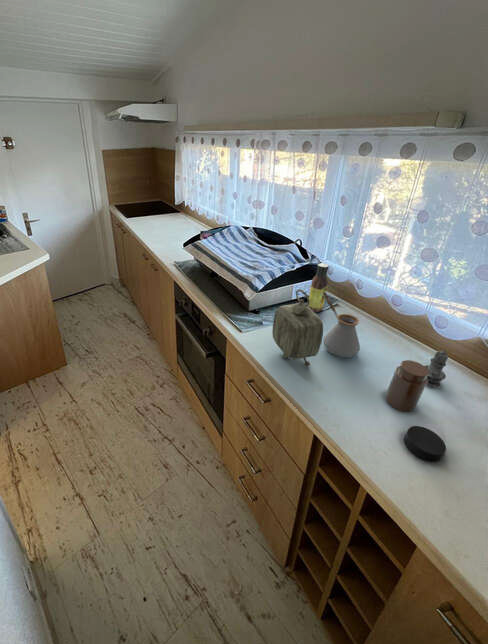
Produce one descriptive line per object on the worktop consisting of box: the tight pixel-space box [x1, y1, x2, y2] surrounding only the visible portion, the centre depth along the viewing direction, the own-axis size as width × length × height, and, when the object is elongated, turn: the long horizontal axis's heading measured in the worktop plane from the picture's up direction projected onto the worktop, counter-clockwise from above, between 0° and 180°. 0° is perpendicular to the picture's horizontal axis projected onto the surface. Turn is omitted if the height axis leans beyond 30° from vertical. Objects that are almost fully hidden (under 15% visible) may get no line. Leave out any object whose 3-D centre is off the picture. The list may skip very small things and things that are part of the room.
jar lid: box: [403, 425, 447, 464], centre depth 73 cm, size 8×8×3 cm
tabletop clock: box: [271, 289, 324, 367], centre depth 97 cm, size 14×9×25 cm, turn 13°
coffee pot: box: [320, 291, 361, 358], centre depth 106 cm, size 21×12×15 cm, turn 9°
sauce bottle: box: [306, 262, 330, 313], centre depth 125 cm, size 6×6×20 cm
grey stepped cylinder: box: [424, 349, 449, 388], centre depth 90 cm, size 6×6×12 cm
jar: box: [384, 359, 429, 413], centre depth 83 cm, size 7×7×12 cm
